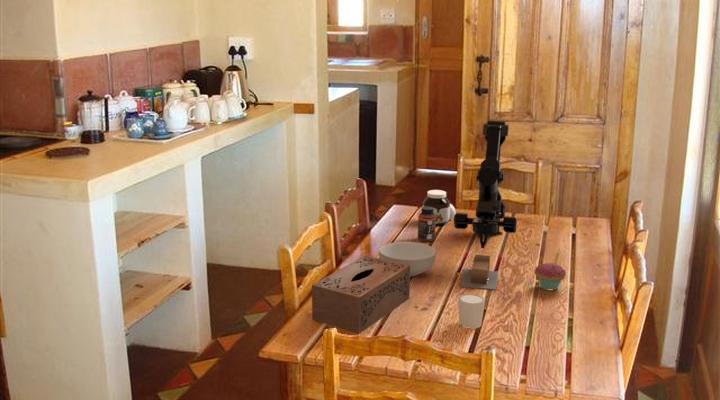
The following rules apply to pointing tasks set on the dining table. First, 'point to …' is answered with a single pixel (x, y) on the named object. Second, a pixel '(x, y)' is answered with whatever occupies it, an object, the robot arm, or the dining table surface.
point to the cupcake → (550, 274)
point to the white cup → (471, 310)
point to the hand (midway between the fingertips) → (482, 247)
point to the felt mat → (490, 285)
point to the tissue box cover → (360, 293)
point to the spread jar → (439, 206)
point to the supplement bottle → (426, 224)
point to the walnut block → (480, 269)
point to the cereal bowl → (409, 255)
